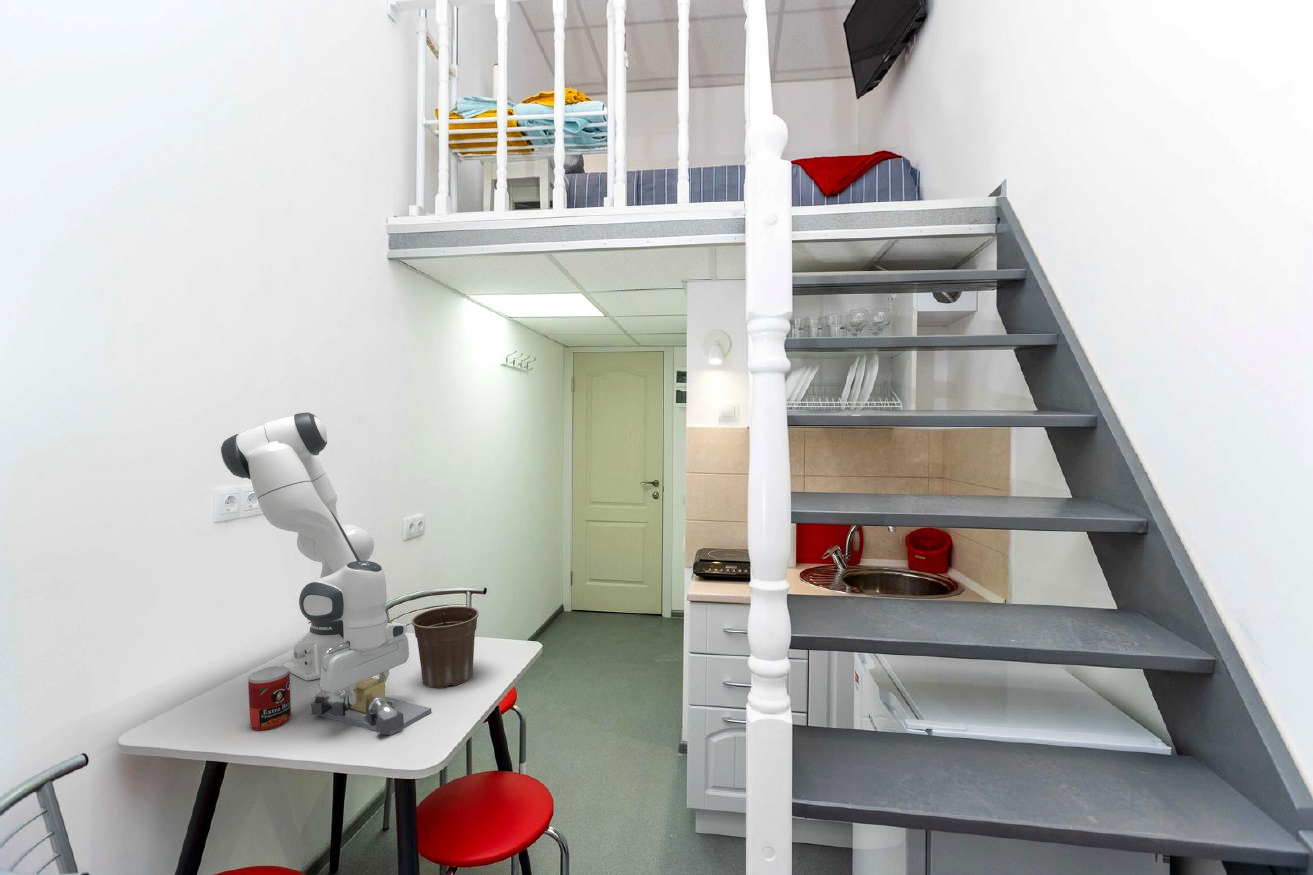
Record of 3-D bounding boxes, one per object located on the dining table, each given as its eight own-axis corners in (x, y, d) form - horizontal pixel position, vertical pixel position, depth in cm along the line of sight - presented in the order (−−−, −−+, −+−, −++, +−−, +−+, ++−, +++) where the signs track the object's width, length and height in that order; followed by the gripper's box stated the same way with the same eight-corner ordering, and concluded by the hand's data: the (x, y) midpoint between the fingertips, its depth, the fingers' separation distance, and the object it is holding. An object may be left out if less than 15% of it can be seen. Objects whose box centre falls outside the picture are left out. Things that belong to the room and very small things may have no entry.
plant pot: (460, 694, 145) (458, 627, 145) (399, 690, 149) (397, 624, 148) (491, 667, 161) (490, 607, 161) (436, 664, 165) (434, 605, 164)
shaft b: (403, 726, 128) (403, 705, 128) (380, 734, 125) (379, 712, 125) (388, 713, 134) (388, 693, 134) (366, 721, 131) (365, 700, 131)
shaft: (311, 715, 134) (310, 694, 134) (325, 705, 139) (324, 685, 139) (346, 715, 134) (345, 695, 134) (359, 705, 138) (358, 686, 138)
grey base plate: (318, 714, 137) (317, 705, 137) (360, 694, 146) (360, 685, 146) (390, 735, 127) (390, 725, 127) (431, 712, 136) (431, 702, 136)
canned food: (261, 734, 128) (259, 683, 128) (242, 725, 132) (240, 675, 132) (298, 719, 135) (296, 670, 134) (279, 711, 139) (278, 663, 139)
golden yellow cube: (366, 712, 132) (365, 689, 132) (350, 708, 134) (349, 685, 134) (385, 703, 136) (384, 681, 136) (370, 699, 138) (369, 677, 138)
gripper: (331, 653, 124) (333, 720, 124) (412, 623, 143) (414, 682, 143) (312, 648, 127) (313, 714, 127) (393, 620, 145) (395, 677, 146)
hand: (367, 697), depth 135 cm, fingers closed on golden yellow cube, 5 cm apart
